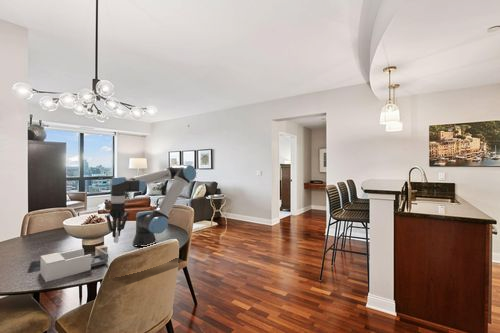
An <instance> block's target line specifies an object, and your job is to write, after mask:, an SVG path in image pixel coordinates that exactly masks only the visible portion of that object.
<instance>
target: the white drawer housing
mask: <svg viewBox="0 0 500 333" xmlns="http://www.w3.org/2000/svg"><path fill="white" fill-rule="evenodd" d="M84 250H85V249H84V248H79V249H78V248H77V249H73V250H68V251H63V252H55V253H49V254H43V255H40V261H41V262H40V271H39V274H40V275H41V276H42V278H43V280H44V281H45V282H46V283H47V282H51V281H56V280H58V279H63V278H66V277H69V276H73V275H76V274H81V273H83V272H88V271H91V270H92V267H91V257H92V254H91V253H89V254H86V255H84Z"/></svg>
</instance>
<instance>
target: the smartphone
mask: <svg viewBox="0 0 500 333" xmlns="http://www.w3.org/2000/svg"><path fill="white" fill-rule="evenodd" d="M40 262H41V260H36V261H31V262H30V264H29V267H28V269H27V273H28V274H30V273H35V272H40Z"/></svg>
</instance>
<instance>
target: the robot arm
mask: <svg viewBox="0 0 500 333" xmlns="http://www.w3.org/2000/svg"><path fill="white" fill-rule="evenodd" d="M195 178H197V169H196V168H195V166H193V165H191V164H176V165H173V166H169V167H165V168H164V169H163V170H159V171H155V172H154V171H153V172H150V173H146V174H141V175H136V176H133V177H129V178H126V177H125V176H112V178H111V184H110V187H111V189H110V204H109V206H110V208H109V210H110V211H109V213H108V214H106V215H104V218H105V219H106V223H107V227H108V231H110V232H112V236H111V237H112V238H113V242H114V243H115V244H117V243H119V237H120V236H121V231H123V230H124V229H125V226H126V222H127V219H128V218H129V215H130V213H129V212H126V209H125V208H126V206H125V205H126V204H125V202H126V193H140V192H144V191H145V190H146V188H147V185H151V184H155V183H159V182H163V181H166V180H167V181H172V180H174V181H173V182H172V184H171V186H170V187H169V189H168V190H167V191H166V194H165V195H164V197H163V199H162V200H161V202H160V203H159V205H158V206H157V208H155V209H154V210H147V211H146V210H145V211H139V212H137V213H136V217H135V235H134V237H133V241H132V246H133V245H137V246H141V245H147V244H150V243H153V242H155V241H156V242H157V239H156V235H157V234H162V233H163V232H165V231H166V230H167V229H168V226H169V218H170V216H169V214H170V212H171V211H172V209H173V207H174V206H175V205H176V202H177V200H178V198H179V197H180V195H181V193H182V192H183V190H184V189H185V187H186V186H188V185H189V184H190V182H191V181H194V180H195ZM111 217H112V220H111ZM155 234H156V235H155ZM143 248H145V246H144V247H143Z"/></svg>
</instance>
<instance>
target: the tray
mask: <svg viewBox="0 0 500 333" xmlns="http://www.w3.org/2000/svg"><path fill="white" fill-rule="evenodd" d="M108 253H109V252H107V253H106V252H105V251H103V250H102V249H99V255H91V258H94V263H91V268H94V267H96V266H97V267H98V266H101V265H103V264H108V263H109V262H108V261H109V254H108Z"/></svg>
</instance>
